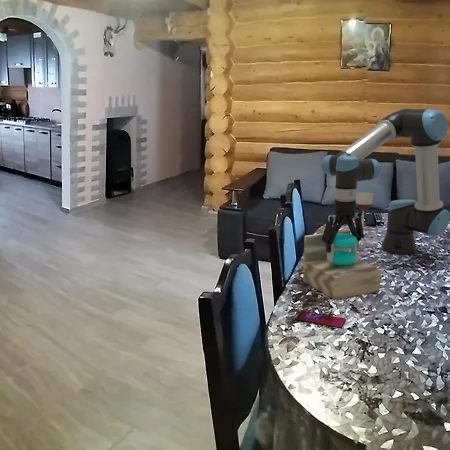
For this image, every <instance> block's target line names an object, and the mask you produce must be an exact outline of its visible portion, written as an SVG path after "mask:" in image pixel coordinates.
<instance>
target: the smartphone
mask: <svg viewBox="0 0 450 450" xmlns="http://www.w3.org/2000/svg"><path fill="white" fill-rule="evenodd" d="M294 320H295V321H296V322H299V321H301V322H300V323H305V322H309V323H308V324H310V323H313V324H312V325H316V324H320V325H319V326H322V325H326V326H325V327H327V326H330V327H329V328H333V327H337V328H336V329H339V328H341V329H343V328H344V326H343V325H345V323H346V322H347V319H346V318H345V317H340V316H337V315H335V316H334V315H330V314H324V313H318V312H312V311H307V310H300V311H299V313H298V314H297V316H296V317H295V318H294ZM342 327H343V328H342Z"/></svg>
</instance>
